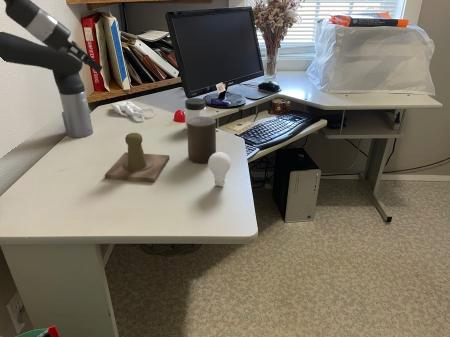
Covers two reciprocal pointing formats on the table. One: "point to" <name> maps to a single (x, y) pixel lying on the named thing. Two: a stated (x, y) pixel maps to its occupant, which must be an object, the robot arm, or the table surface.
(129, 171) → the walnut board
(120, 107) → the superhero figure
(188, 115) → the jar
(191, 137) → the pillar candle
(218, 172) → the light bulb
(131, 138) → the cork
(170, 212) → the table surface
